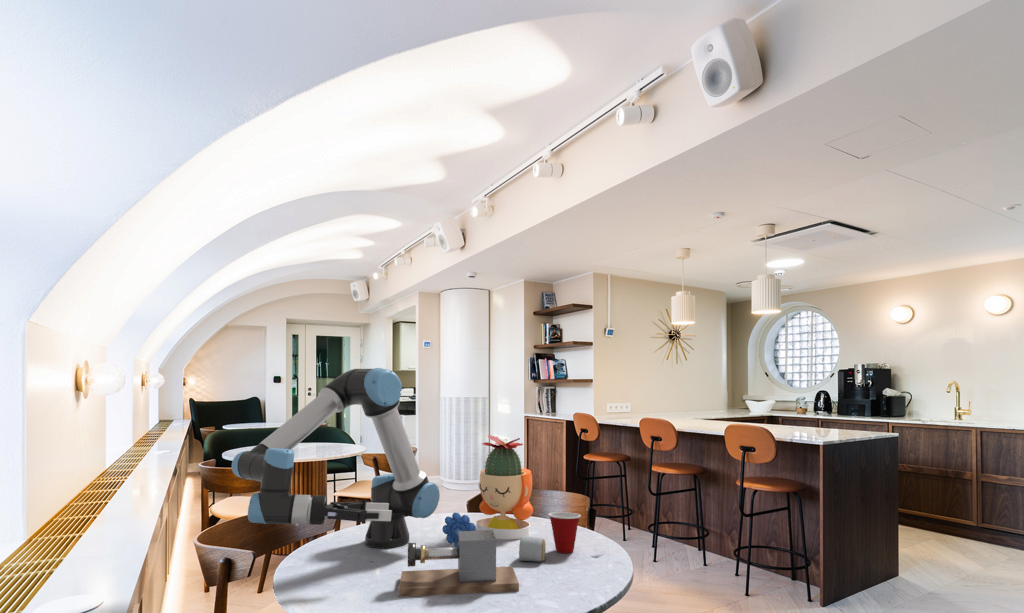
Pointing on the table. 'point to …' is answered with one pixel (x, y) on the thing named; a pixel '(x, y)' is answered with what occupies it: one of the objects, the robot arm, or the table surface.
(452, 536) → the grapes
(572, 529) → the plastic cup
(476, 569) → the bearing block
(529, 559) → the ceramic mug
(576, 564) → the table surface
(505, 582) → the base plate
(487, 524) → the potted cactus
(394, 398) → the robot arm
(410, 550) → the shaft
